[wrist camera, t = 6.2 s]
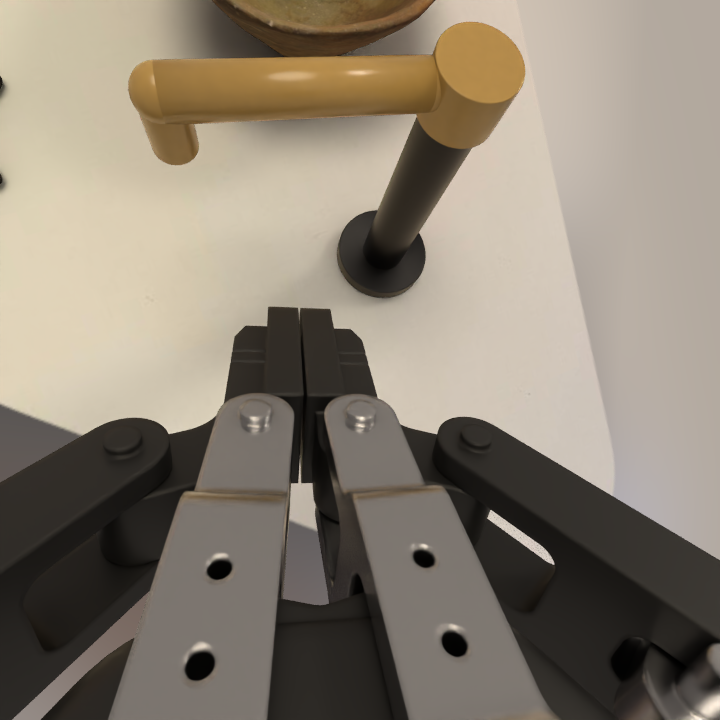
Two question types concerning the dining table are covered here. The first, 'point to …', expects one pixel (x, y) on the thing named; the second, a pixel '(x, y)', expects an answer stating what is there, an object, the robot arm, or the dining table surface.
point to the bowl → (321, 22)
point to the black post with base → (398, 219)
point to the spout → (334, 90)
